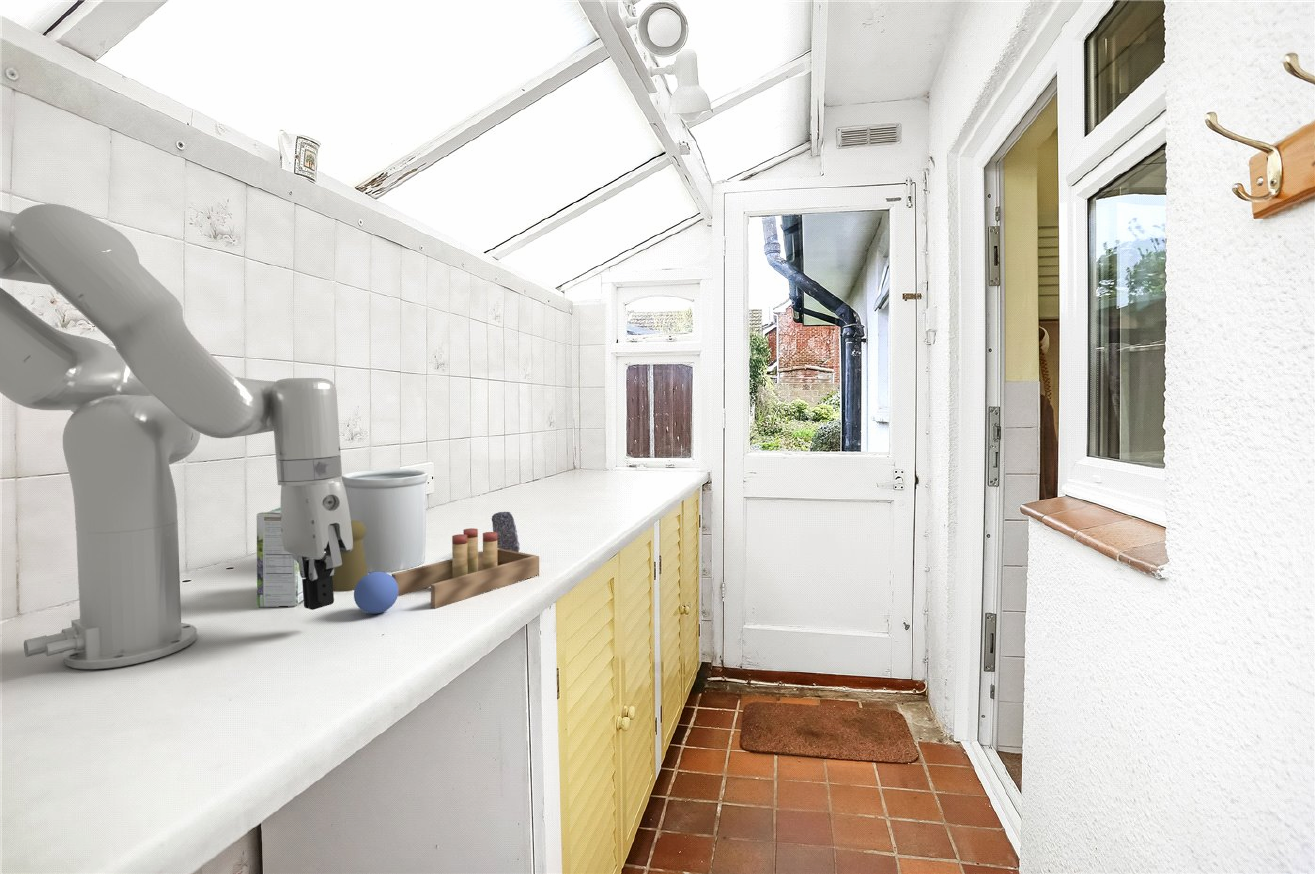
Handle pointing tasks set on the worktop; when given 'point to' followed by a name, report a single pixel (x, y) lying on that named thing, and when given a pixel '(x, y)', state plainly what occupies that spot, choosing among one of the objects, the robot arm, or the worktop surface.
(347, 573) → the cork
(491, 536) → the pin
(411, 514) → the utensil holder
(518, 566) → the lane
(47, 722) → the worktop surface
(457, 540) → the pin front
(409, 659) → the worktop surface
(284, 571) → the syrup box
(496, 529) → the rock
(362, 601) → the ball
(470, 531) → the pin
